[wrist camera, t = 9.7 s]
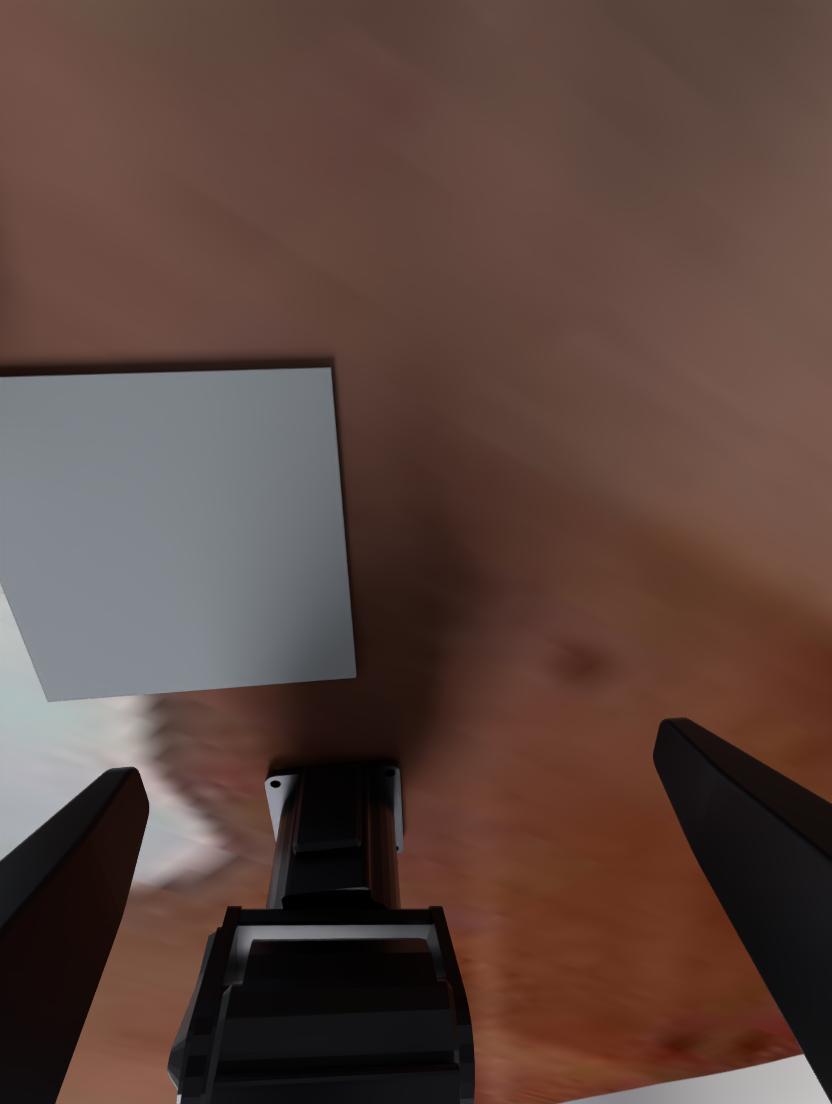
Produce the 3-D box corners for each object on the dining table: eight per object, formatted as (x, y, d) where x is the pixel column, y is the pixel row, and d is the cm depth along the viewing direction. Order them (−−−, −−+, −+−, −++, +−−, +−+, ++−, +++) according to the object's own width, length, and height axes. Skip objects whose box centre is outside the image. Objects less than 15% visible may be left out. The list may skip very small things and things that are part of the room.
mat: (356, 671, 23) (356, 677, 23) (53, 695, 22) (47, 702, 22) (331, 367, 18) (330, 367, 17) (-71, 378, 17) (-81, 379, 16)
